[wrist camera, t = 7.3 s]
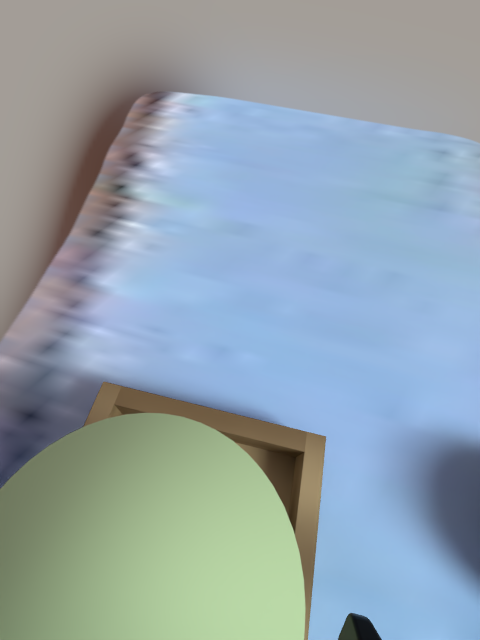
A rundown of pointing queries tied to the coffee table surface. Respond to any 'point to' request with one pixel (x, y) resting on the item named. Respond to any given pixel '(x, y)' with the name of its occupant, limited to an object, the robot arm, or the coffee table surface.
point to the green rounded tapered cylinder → (147, 539)
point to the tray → (262, 446)
